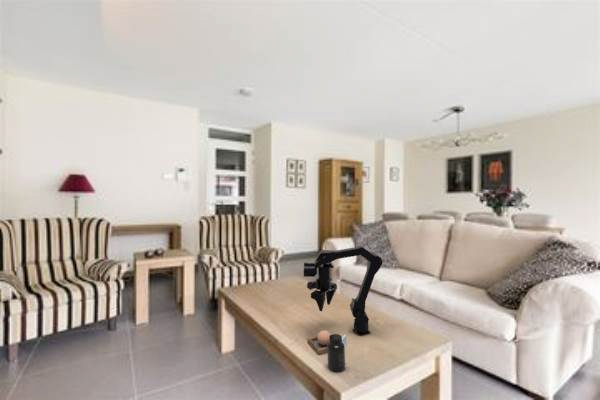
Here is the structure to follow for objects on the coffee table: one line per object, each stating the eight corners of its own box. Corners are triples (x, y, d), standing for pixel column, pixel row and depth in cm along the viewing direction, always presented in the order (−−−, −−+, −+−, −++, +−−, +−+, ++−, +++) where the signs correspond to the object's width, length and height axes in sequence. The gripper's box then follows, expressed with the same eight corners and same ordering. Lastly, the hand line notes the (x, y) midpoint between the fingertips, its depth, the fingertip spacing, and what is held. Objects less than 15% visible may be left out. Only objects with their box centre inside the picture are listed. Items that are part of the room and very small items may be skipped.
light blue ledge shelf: (343, 341, 129) (343, 334, 129) (348, 342, 128) (347, 335, 128) (328, 358, 115) (328, 350, 115) (333, 360, 114) (333, 352, 114)
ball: (326, 340, 129) (326, 327, 130) (333, 346, 124) (333, 332, 124) (315, 342, 127) (315, 329, 127) (321, 349, 122) (321, 335, 122)
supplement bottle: (343, 361, 113) (342, 332, 113) (346, 372, 106) (346, 340, 106) (326, 362, 113) (326, 332, 113) (328, 372, 106) (328, 341, 106)
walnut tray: (328, 337, 133) (328, 333, 133) (341, 349, 123) (341, 344, 123) (307, 342, 128) (307, 338, 128) (318, 355, 118) (318, 350, 118)
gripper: (317, 270, 151) (318, 299, 151) (300, 279, 135) (301, 311, 135) (337, 272, 145) (337, 302, 145) (321, 282, 129) (322, 316, 129)
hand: (324, 307), depth 139 cm, fingers open, 9 cm apart
